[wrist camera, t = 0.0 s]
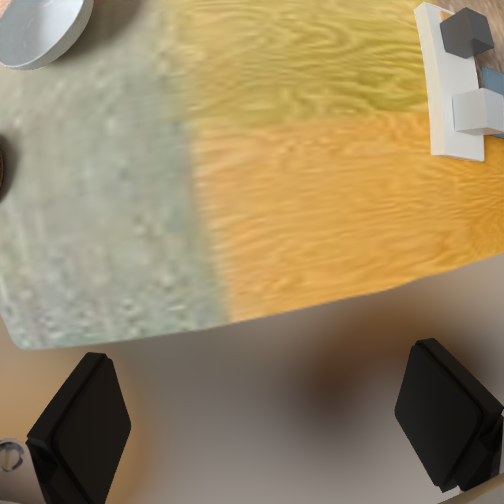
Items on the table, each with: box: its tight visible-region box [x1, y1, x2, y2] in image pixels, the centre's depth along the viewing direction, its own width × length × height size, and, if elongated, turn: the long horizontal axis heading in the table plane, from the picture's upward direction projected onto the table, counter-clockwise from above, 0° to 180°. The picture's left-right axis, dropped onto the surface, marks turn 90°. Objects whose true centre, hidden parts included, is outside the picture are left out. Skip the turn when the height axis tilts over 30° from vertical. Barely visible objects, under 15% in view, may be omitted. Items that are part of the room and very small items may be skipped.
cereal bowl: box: [0, 0, 94, 70], centre depth 27 cm, size 17×17×7 cm
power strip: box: [414, 2, 484, 161], centre depth 33 cm, size 24×8×4 cm, turn 1°
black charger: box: [440, 7, 494, 59], centre depth 27 cm, size 5×4×8 cm
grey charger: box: [452, 88, 504, 136], centre depth 30 cm, size 5×4×8 cm
